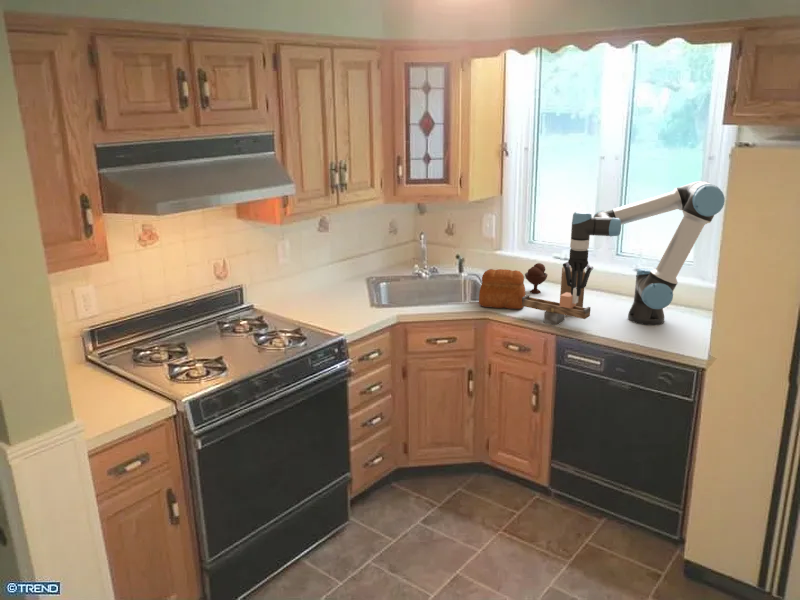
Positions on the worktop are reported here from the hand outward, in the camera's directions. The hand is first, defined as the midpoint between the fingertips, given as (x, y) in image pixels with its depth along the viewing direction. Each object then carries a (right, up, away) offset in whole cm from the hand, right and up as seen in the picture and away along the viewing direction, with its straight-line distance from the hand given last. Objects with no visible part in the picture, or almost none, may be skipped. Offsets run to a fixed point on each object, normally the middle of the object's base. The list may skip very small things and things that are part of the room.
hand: (575, 302), depth 292 cm
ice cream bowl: (-7, +5, +52) cm, 53 cm away
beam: (-7, -8, +9) cm, 14 cm away
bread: (-26, -1, +33) cm, 42 cm away
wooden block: (+4, -4, +23) cm, 24 cm away
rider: (-2, -2, +3) cm, 5 cm away
